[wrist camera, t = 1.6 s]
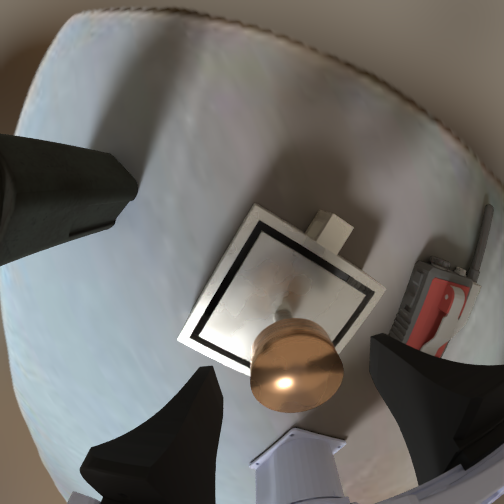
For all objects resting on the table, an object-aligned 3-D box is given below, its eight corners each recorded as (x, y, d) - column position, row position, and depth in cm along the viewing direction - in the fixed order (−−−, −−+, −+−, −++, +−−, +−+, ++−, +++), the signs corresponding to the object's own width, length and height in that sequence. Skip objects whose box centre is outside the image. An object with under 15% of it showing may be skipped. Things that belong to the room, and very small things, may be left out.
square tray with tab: (293, 364, 23) (301, 397, 18) (190, 311, 21) (177, 339, 17) (375, 249, 20) (402, 263, 16) (269, 178, 19) (274, 174, 15)
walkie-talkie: (424, 377, 24) (487, 206, 20) (442, 400, 20) (516, 211, 16) (363, 376, 24) (432, 175, 19) (379, 404, 19) (464, 175, 15)
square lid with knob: (296, 377, 18) (312, 449, 12) (200, 331, 18) (176, 400, 11) (362, 292, 17) (413, 343, 10) (261, 230, 16) (269, 257, 9)
